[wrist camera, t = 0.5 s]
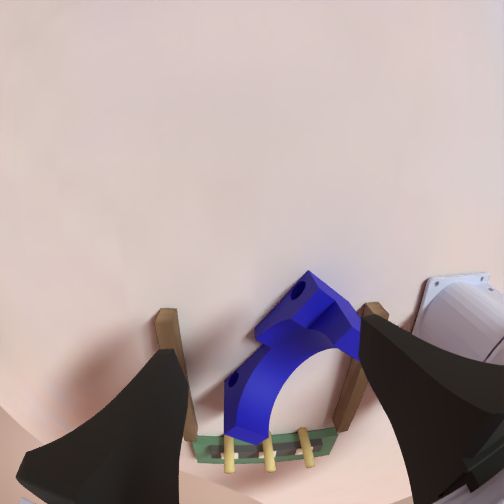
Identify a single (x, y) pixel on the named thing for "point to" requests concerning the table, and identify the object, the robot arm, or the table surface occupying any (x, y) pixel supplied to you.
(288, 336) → the cable clip
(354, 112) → the table surface
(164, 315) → the guide rails
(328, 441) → the header board
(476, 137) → the table surface
